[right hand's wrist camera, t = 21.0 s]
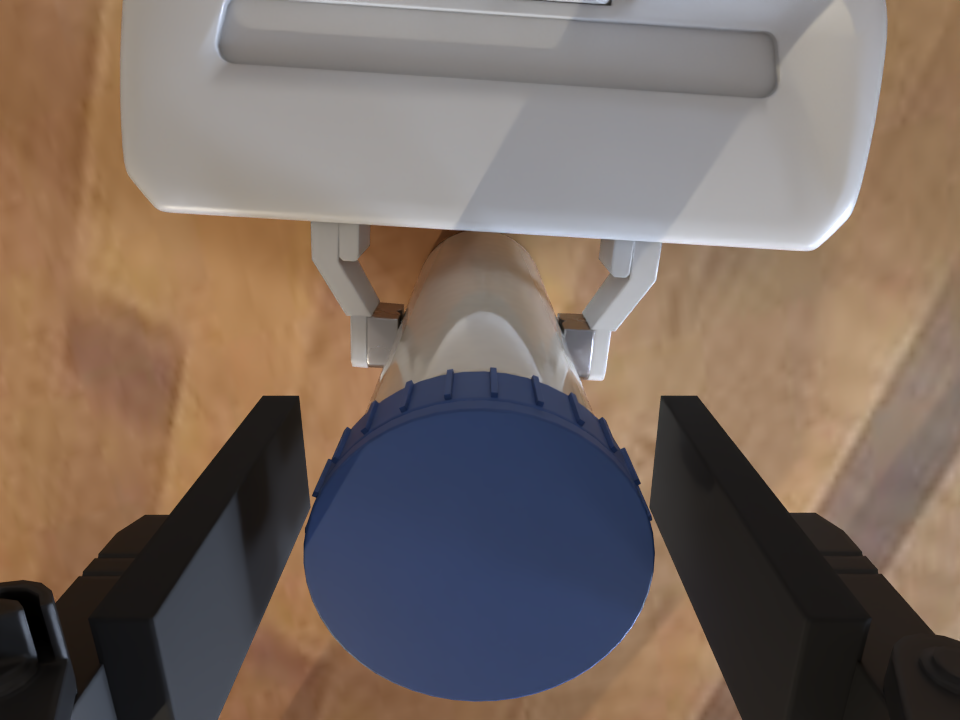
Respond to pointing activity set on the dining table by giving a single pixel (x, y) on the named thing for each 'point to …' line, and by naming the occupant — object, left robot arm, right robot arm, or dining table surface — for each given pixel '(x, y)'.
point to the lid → (479, 538)
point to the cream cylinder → (479, 319)
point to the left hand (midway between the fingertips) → (479, 368)
